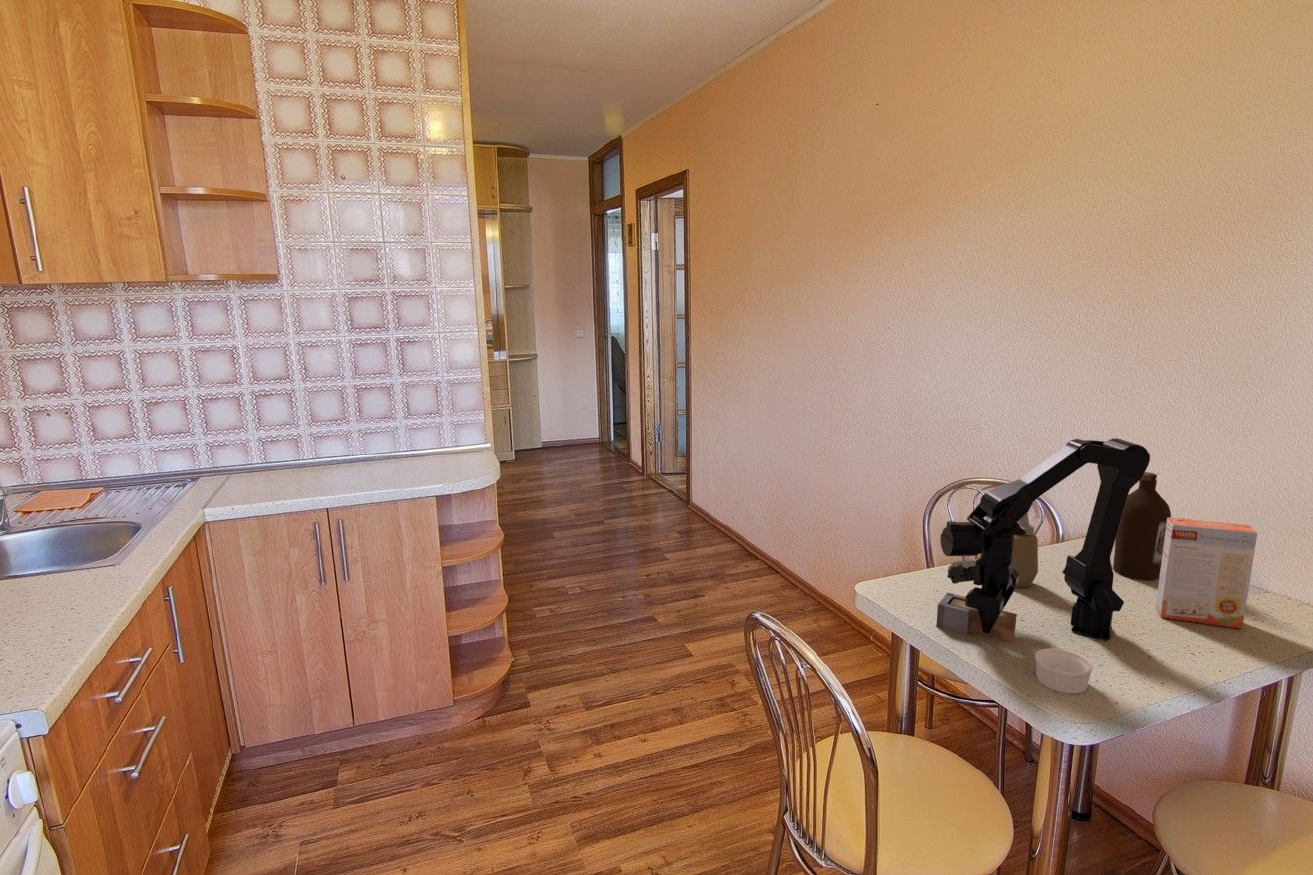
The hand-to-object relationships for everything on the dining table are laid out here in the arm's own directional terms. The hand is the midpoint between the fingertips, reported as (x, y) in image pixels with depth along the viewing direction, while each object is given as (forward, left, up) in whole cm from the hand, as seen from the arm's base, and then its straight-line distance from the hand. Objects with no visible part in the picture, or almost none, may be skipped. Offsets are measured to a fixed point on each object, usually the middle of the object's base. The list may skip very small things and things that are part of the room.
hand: (989, 626), depth 143 cm
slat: (+2, 0, -2) cm, 2 cm away
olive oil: (-22, -53, -2) cm, 57 cm away
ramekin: (-15, +12, -2) cm, 19 cm away
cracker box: (-34, -32, -2) cm, 46 cm away
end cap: (+6, 0, -1) cm, 7 cm away
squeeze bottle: (0, -30, -2) cm, 30 cm away
